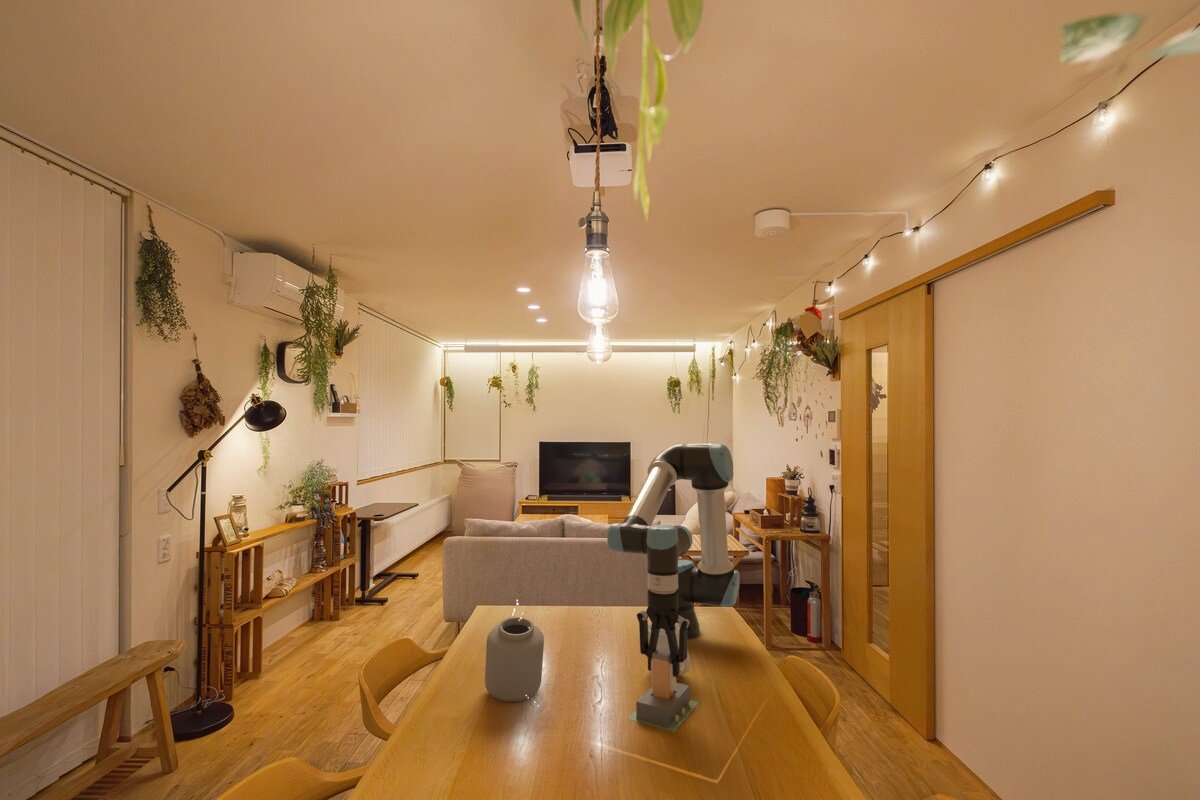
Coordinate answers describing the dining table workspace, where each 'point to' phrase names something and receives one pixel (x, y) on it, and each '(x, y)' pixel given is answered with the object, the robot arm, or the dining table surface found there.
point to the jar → (514, 659)
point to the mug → (664, 644)
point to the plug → (661, 673)
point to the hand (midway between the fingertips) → (663, 686)
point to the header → (664, 708)
